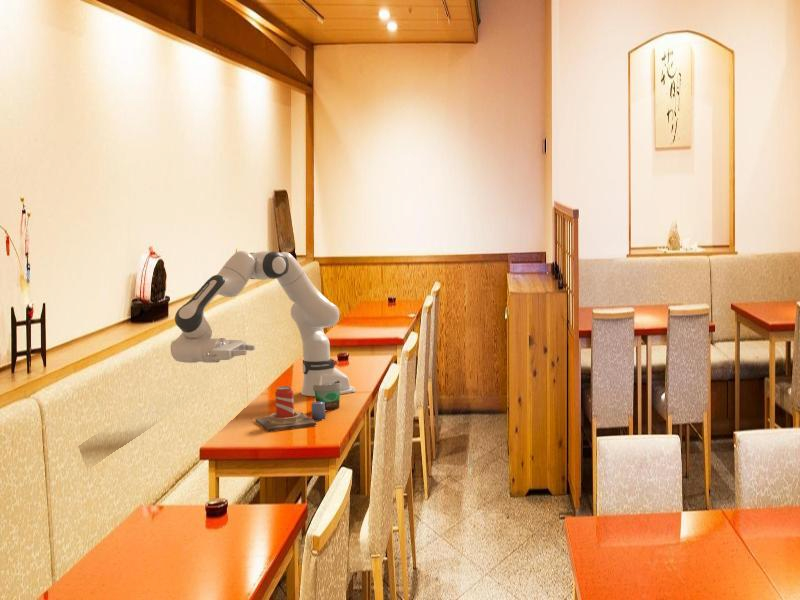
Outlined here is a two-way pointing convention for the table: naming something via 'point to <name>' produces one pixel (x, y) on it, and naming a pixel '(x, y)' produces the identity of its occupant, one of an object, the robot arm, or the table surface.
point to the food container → (328, 395)
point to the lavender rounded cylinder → (318, 410)
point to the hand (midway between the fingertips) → (250, 350)
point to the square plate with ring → (284, 422)
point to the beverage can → (284, 402)
